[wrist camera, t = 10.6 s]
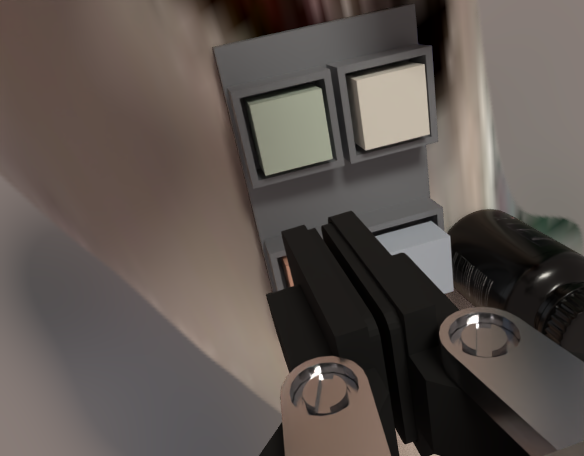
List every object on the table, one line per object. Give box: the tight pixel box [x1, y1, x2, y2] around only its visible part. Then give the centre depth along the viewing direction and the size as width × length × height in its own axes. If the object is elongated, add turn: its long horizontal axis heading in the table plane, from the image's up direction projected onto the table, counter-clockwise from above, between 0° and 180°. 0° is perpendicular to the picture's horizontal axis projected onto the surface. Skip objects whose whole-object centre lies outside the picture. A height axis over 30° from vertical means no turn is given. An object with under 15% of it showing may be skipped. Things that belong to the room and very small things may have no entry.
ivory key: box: [345, 61, 430, 150], centre depth 29 cm, size 4×4×2 cm
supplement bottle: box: [447, 209, 584, 354], centre depth 32 cm, size 7×7×12 cm
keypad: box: [212, 4, 444, 292], centre depth 32 cm, size 20×12×3 cm, turn 11°
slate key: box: [375, 221, 454, 294], centre depth 32 cm, size 4×4×2 cm
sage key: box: [244, 83, 333, 176], centre depth 28 cm, size 4×4×2 cm
